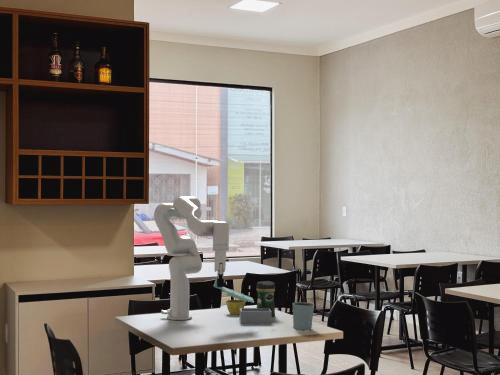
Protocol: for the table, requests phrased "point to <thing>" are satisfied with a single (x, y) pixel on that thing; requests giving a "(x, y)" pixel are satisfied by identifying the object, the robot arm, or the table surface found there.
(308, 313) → the grey-blue tapered cup
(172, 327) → the table surface
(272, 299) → the coffee jar
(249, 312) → the tub
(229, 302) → the flower pot
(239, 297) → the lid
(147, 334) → the table surface
